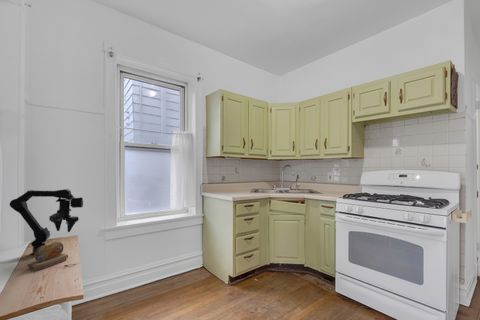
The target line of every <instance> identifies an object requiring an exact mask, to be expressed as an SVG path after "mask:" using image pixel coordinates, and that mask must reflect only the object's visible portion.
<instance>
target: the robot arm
mask: <svg viewBox="0 0 480 320" xmlns="http://www.w3.org/2000/svg"><path fill="white" fill-rule="evenodd" d="M33 197H34V198H35V197H36V198H39V197H42V198H43V197H45V198H46V197H51V198H52V197H53V198H57V200H55V202H56V203H59V205H58V207H59V208H58V209H57V210H56V212H55V213H53V214H51V215H49V220H48V221H50V222H51V223H53V224H54V227H55V229H56V232H60V230H61V226H62V222H63V221H66V222H65V224H66V225H67V233H70V232H71V230H72V228H73V227H74V226H75V224H76V223H77V222H78V221H79V218H80V217H78V216H73V215H71V214H70V212H71V211H72V209H75V208H77V209H78V208H83V207H84V200H83V197H75V196H73V194H72V191H71V190H70V189H68V188H65V189H59V190H58V189H57V190H33V189H32V190H31V189H29V190H27V191H25V192H24V193H23V194H22V195H20V196H18V197H17V198H15V199H12V200H11V201H10V202H9V206H10V208H11V209H12V210H13V211H15V212H17V213H19V214H20V215H21V218H23V219H24V221H25V222H26V224H27V225H28V226H29V228H30V229H31V230H32V232H33V236H34V238H35V239H34V240H33V241H32V242H30V244H31V247H32V252H31V253H29V255H32V256H34V254H35V251H36V250H37V249H38V248H39V247H41V246H44V245H46V242H47V240H49V238H50V236H51V231H50V230H49V229H48V228H47V227H46V226H45V228H44V227H43V226H41V225H40V223H39V222H38V220H37V219H36V218H35V217H34V215H33V214H32V213H31V211H30V209H29V206H28V203H27V202H28V201H29V200H30V199H31V198H33Z"/></svg>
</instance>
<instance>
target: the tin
mask: <svg viewBox="0 0 480 320" xmlns="http://www.w3.org/2000/svg"><path fill="white" fill-rule="evenodd" d="M63 250H64V245H63V243H62V242H60V241H56V242H51V243H47V244H45V245H44V246H41V247H39V248H38V249H37V250H36V251H35V254H34V255H33V256H34V259H35V261H46V260H49V259H51V258H54V257H57V256H59V255H60V254H63Z"/></svg>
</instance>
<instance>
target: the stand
mask: <svg viewBox="0 0 480 320" xmlns="http://www.w3.org/2000/svg"><path fill="white" fill-rule="evenodd" d="M67 258H69V255H68V254H65V253H61V254H60V255H59V256H57V257H54V258H51V259H49V260H46V261H37V260H34V261H30V262H28V263H27V264H26V267H28V270H33V271H41V270H43V269H46V268H49V267H51V266H54V265H56V264H59V263H62V262H64V261H67Z"/></svg>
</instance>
